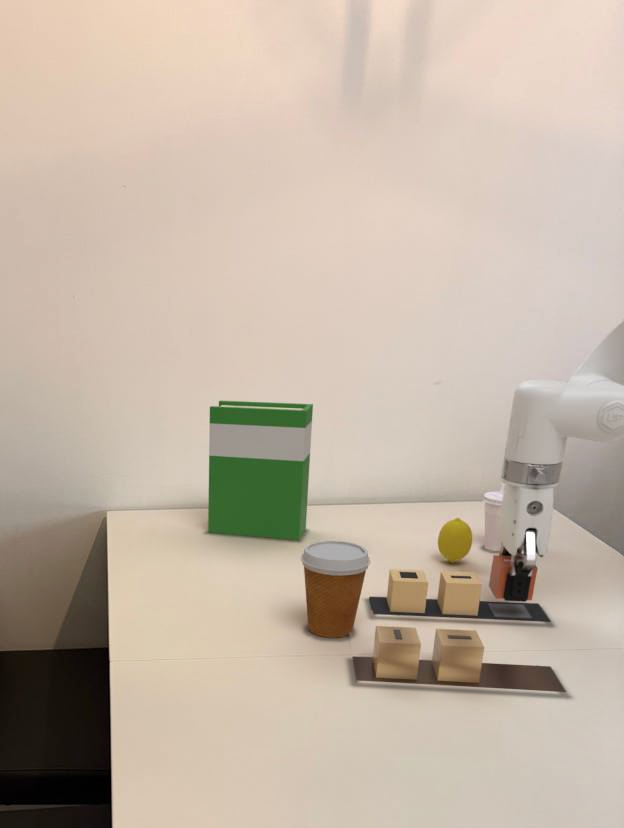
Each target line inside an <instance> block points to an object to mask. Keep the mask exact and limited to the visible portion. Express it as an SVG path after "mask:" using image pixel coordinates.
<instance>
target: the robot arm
mask: <svg viewBox="0 0 624 828" xmlns="http://www.w3.org/2000/svg"><path fill="white" fill-rule="evenodd" d="M506 436H507V437H506V443H505V448H504V453H503V454H504V455H503V462H502V468H501V473H500V482H501V483H502V482H503V483H505V487H504V495H503V500H502V505H501V511H500V516H499V524H498V537H499V539H500V541H501V549H500V551H499V554H498V555H504V556H511V566H510V574H508V573H507V578H506V584H505V590H504V596H503V598H504V599H503V600H504V601H505V602H520V603H526V602H527V601H528V600H527V599H528V593H529V588H530V582H531V576H532V572H533V568H534V565H536V564H537V563H536V562H537V555H538V556H539V557H540V558H544V557H546V556H547V554H548V550H549V542H550V536H551V527H552V519H553V510H554V497H555V496H554V494H555V493H554V488H557V487H558V486H559V483H560V478H561V473H562V467H563V461H564V456H565V450H566V445H567V439H568V438H575V439H582V440H586V441H594V442H603V443H606V442H607V443H609V442H615V441H618V440H622V439H623V438H624V319H623V320H621V321H620V322H619V323H617V325H615V326H614V327H613V328H612V329H611V330H610V331H609V332H608V333H607V334H606V335H605V336H603V337H602V339H601V340H600V341H599V342H598V343H597V344H596V345H595V346H594V347H593V349H592V350H591V351H590V352H589V353H588V355H586V357H585V359H584V360H583V361H582V362H581V363H580V364H579V366H578V368H576V370H575V371H574V373H572V375H571V376H570V378H568V381H567V382H566V381H560V380H553V379H551V380H550V379H529V380H525V381H522V382H520V383H519V384H518V385H517V386H516V388H515V389H514V393H513V397H512V405H511V411H510V418H509V424H508V430H507V435H506ZM522 552H523V553H522ZM517 558H523V561H520V562H519V563H518V564H517Z"/></svg>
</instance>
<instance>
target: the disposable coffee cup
mask: <svg viewBox="0 0 624 828" xmlns="http://www.w3.org/2000/svg"><path fill="white" fill-rule="evenodd" d="M300 561H301V563H302V566H303V571H304V572H303V573H304V583H305V584H304V587H305V597H306V598H305V602H306V615H307V628H308V631H309V632H310V633H312V634H314V635H316V636H319V637H323V638H330V639H332V638H334V639H336V638H337V639H338V638H343V637H347V636H350V633H352V632H353V630H354V627H355V621H356V617H357V613H358V608H359V603H360V599H361V595H362V590H363V585H364V581H365V576H366V572H367V570H368V568H369V566H370V564H371V558H370V557H369V551H368V549H367V548H365V547H364V546H363V545H360V544H358V543H355V542H350V541H345V540H344V541H343V540H321V541H315V542H314V541H313V542H311V543H309V544H307V545H306V546H305V547H304V550H303V552H302V553H301V555H300Z"/></svg>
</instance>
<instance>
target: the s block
mask: <svg viewBox="0 0 624 828" xmlns="http://www.w3.org/2000/svg"><path fill="white" fill-rule="evenodd" d="M520 561H523V558H517V564H518V563H519V562H520ZM510 566H511V556H504V555H499V554H493V557H492V563H491V570H490V575H489V581H488V587H489V589H490V591H491V593H492V594H493V596H494V598H495V599H498V600H499V599H500V600H504V598H503V596H504V590H505V584H506V578H507V573H508V574H510ZM538 569H539V568H538V567H537V565H536V564H535V565H534V568H533V572H532V576H531V582H530V588H529V593H528V599H527V601H532V600H533V595H534V589H535V586H536V579H537V573H538Z"/></svg>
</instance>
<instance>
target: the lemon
mask: <svg viewBox="0 0 624 828" xmlns="http://www.w3.org/2000/svg"><path fill="white" fill-rule="evenodd" d="M472 545H473V531H472V529H471V526H469V524H468V523H467V522H466V521H464V520H462V519H461V517H460V518H459V517H455V518H454V519H451V520H449V521H447V522H445V524H444V525H443V526H442V527H441V528H440V531H439V534H438V538H437V549H438V551H439V554H440V555H441V556H442V557H443V558H445V559H446V560H448V562H450V563H451V564H454V563H456V562H457V561H458V560H462V559H464V558H465V557H466V556H467V555H468V554H469V552H470V551H471V549H472Z"/></svg>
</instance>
